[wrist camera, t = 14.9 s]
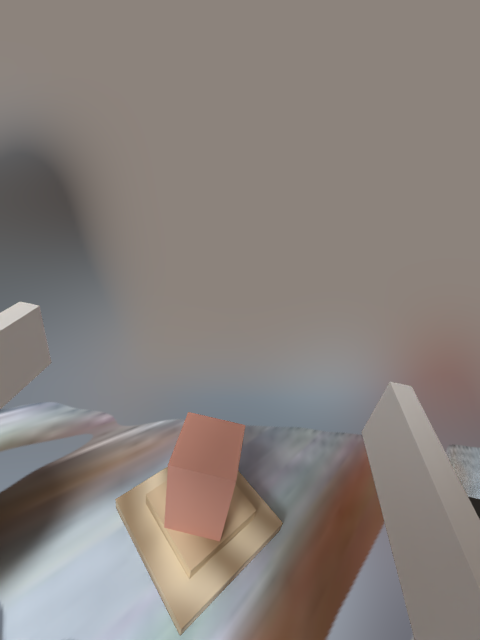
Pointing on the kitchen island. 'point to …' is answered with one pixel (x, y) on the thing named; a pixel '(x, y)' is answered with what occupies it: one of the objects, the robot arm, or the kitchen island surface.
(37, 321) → the robot arm
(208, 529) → the pillar
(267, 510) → the plinth
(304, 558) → the kitchen island surface
